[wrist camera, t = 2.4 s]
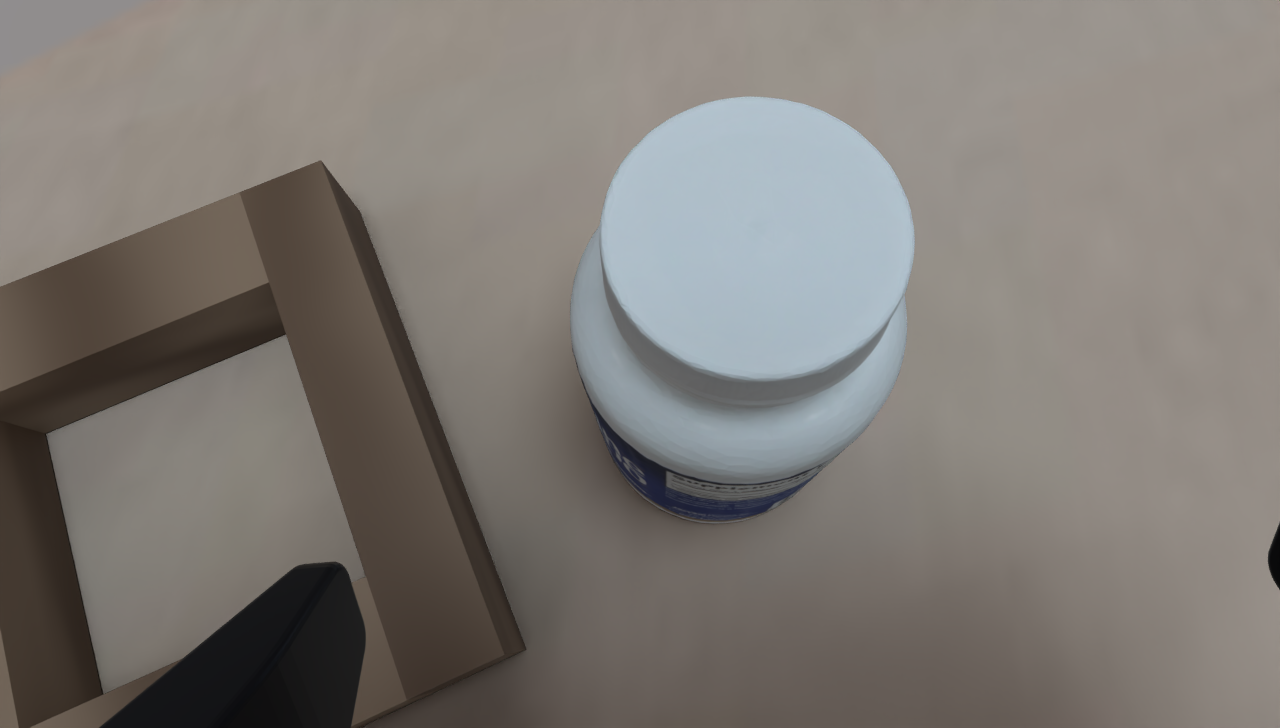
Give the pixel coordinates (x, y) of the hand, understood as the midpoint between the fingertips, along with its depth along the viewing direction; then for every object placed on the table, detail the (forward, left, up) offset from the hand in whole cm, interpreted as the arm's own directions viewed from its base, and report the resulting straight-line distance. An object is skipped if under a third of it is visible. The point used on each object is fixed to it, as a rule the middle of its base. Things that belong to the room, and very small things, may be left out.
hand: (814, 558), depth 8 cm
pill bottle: (+4, +2, -11) cm, 12 cm away
